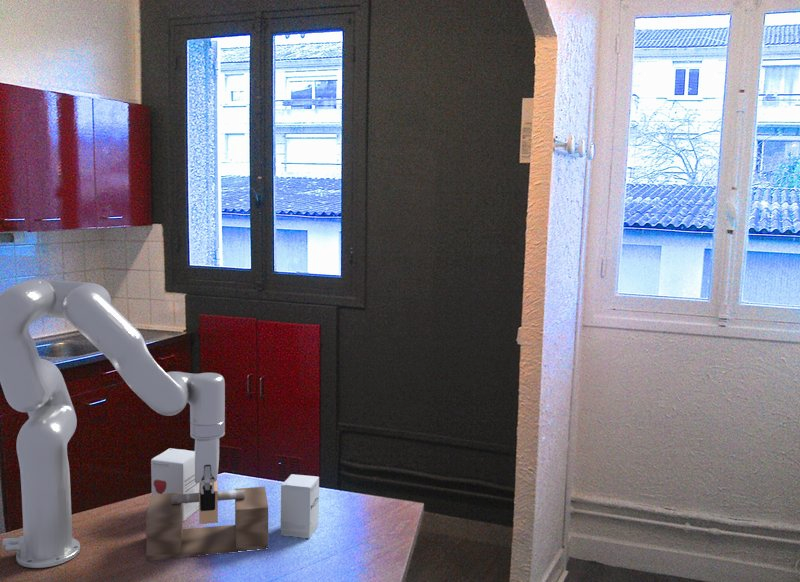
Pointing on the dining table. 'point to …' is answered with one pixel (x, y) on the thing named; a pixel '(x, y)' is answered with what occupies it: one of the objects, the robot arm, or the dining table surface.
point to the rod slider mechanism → (177, 542)
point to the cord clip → (211, 515)
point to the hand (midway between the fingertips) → (208, 501)
